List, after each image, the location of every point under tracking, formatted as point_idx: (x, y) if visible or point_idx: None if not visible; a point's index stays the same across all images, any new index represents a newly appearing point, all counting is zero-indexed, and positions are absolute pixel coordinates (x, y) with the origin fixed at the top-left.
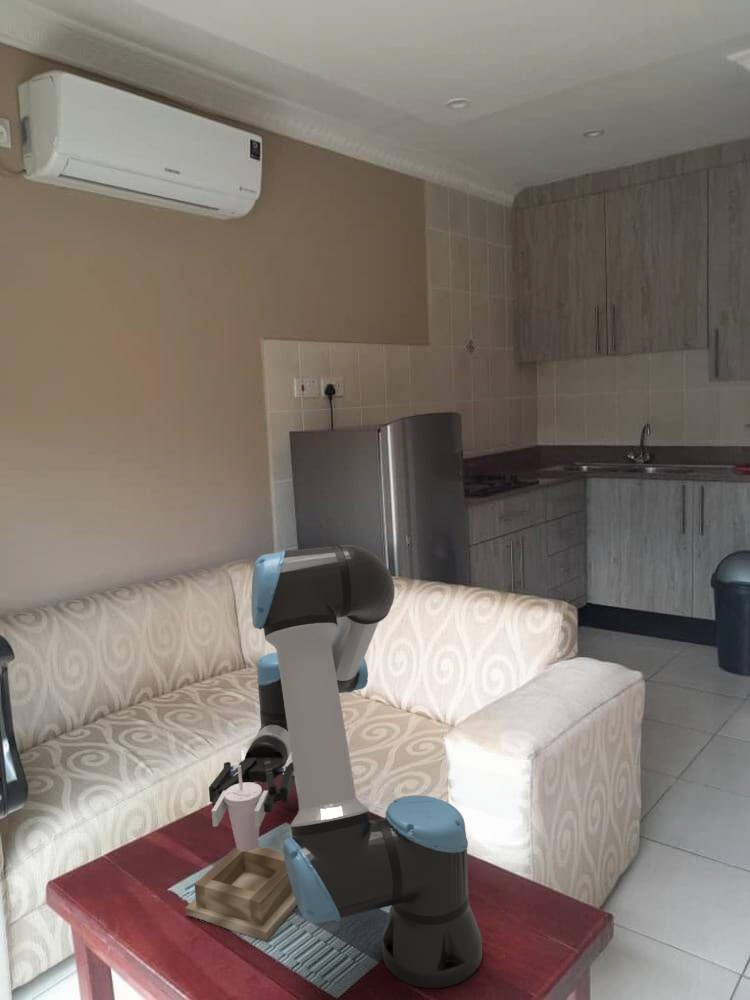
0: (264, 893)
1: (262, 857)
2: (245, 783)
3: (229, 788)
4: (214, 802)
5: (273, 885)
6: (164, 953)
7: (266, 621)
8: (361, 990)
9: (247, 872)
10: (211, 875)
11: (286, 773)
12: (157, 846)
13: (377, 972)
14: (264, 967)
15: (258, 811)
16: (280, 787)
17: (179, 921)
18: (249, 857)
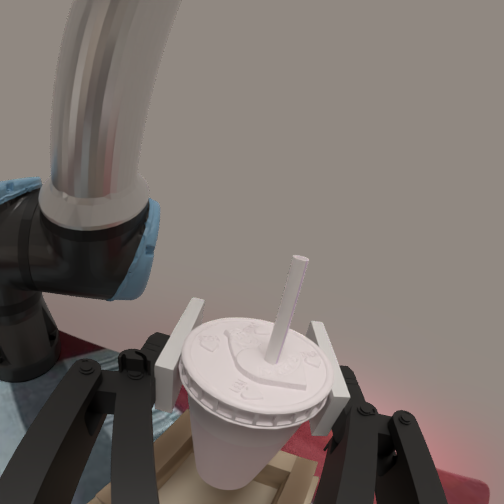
0: (180, 425)
1: None
2: (269, 406)
3: (326, 380)
4: (345, 370)
5: (163, 438)
6: (309, 427)
7: None
8: (92, 344)
9: None
10: (296, 482)
11: (30, 472)
12: None
13: (70, 352)
14: (180, 393)
15: (193, 297)
16: (97, 374)
17: (318, 473)
18: None
